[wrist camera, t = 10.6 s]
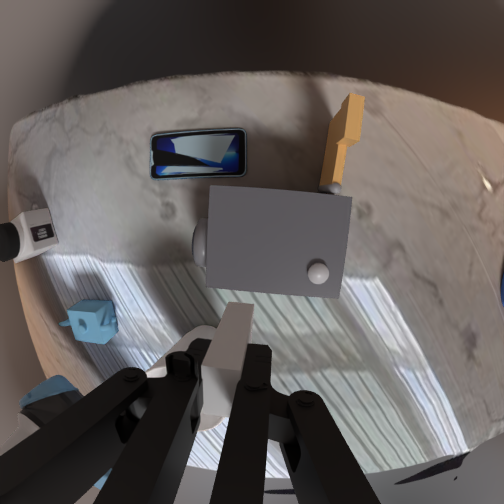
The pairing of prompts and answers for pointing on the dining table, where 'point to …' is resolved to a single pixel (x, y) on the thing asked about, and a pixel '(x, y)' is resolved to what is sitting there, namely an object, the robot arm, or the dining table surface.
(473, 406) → the dining table surface
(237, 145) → the smartphone
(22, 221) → the container
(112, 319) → the teapot
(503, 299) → the blue flat round ring
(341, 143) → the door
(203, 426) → the cup
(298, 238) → the case
